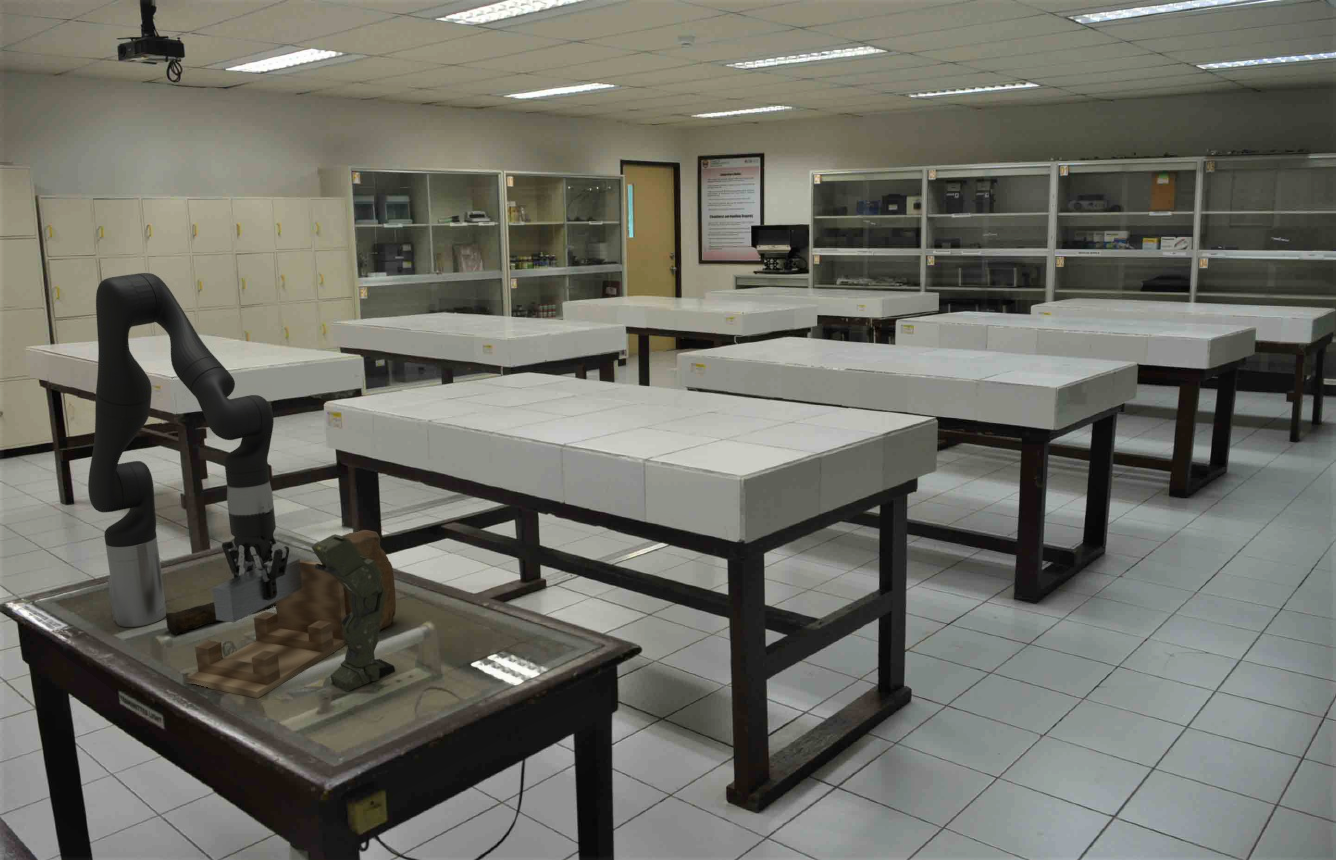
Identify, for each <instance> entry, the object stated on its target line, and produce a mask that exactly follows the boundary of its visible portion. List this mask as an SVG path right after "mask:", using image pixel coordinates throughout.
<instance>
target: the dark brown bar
mask: <svg viewBox="0 0 1336 860" xmlns="http://www.w3.org/2000/svg"><path fill="white" fill-rule="evenodd" d="M273 607H276V602H274V603H272V604H270V605H268V606H266V607H264V608H262V609H260V610H258V611H256V612H254V613H252V614H251V615H253V614H257V613H261V612H263V611H264V612H265V611H266V610H269V609H272V608H273ZM166 613H167V614H166V616H165V620H166V628H167V630H168V633H170V634H171V636H173V637H175V636H177V635H178V634H179V633H187V631H188V630H193V629H195V628H198V627H201V626H204V625H207V624H211V623H214V622H218V621H219V620H216V613H215V605H214V601H213V602H210V603H206V604H203V605H196V606H194V607H190V608H187V609H183V610H180V611H176V612H166Z"/></svg>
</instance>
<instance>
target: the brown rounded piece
mask: <svg viewBox="0 0 1336 860" xmlns="http://www.w3.org/2000/svg"><path fill="white" fill-rule="evenodd" d="M342 536H343V537H346V538H349V539H350V540H351V542H352V543H353V545H354V546H355V547H356V549H357V550H358V551H359V553H360V554H361V556H362V557H365V558H368V559H371V560H374V562H375V563H376V565H377V566H378V568H379V569H380V571H381V572H382V588H383V589H384V590H385V591H386V597H385V603H384V607H383V612H382V618H381V624H380V630H379V632H380V631H381V630H383V629H385V628H387V627H389V626H390V625H391V623H392V622H393V621H394V617H395V615H396V610H397V609H396V608H397V606H396V605H397V602H396V598H397V597H396V587H395V586H396V585H395V575H394V574H395V573H394V567H393V565H392V562H391V561H390V560H389V558H388V556H387V554H386V552H385V550H384V549H382V547H381V545H380V544H381V538H380V535H379V534H378V532H377V531H374V530H369V529H362V530H359V531H357V532H356V531H355V532H350V533H346V534H343V535H342ZM343 589H344V600H345V612H346V615H349V614H350V613H351V612H352V609H351V605H350V592H348V591H347V590H346V589H345V588H344V587H343Z"/></svg>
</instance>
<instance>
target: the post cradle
mask: <svg viewBox="0 0 1336 860" xmlns="http://www.w3.org/2000/svg"><path fill="white" fill-rule="evenodd" d="M316 564H322V563H321V561H320V562H318V561H312V560H311V561H309V560H305V559H304V560H302V559H300V568H301V578H302V589H300V590H298V591H296V592H294V593H292V594H290V595H288V596H286V597H284V598H282V599H280V600H278V601H276V605H275V608H276V609H275V611H276V612H270V611H264V612H263V611H262V613H261V612H260V614H258V615H255V616H254V617H253V625H254V632H255V640H254V641H253V642H251V643H249V644H247V645H246V646H243V647H241V648H239V649H237V650H236V651H234V652H232V653H231V654H228V655H226V656H224V655H223V650H222V649H223V648H222V642H220V641H215V640H209V639H207V640H206V641H203V642H202V643H200V644H198V645H195V648H194V649H195V656H196V663H197V664H196V665H197V671H196V672H195V673H193V674H191V675H189V676H187V677H186V680H187V681H188V682H191V683H194V684H197V685H201V686H204V687H203V688H206V687H208V689H211V690H217V691H222V692H226V693H231V694H235V695H241V696H245V697H250V698H254V699H259V698H260V697H262V696H264V695H266V694H267V693H269V692H271V691H272V690H274V689H275V688H277V687H279V686H281V685H283V684H284V683H286V682H287V681H289V680H291V679H292V678H295V676H296V675H298V674H300V673H302V672H303V671H305V670H308V669H309V668H310V667H311V666H313V665H315V664H317V663H318V662H320V661H322V660H323V659H325V658H326V657H328V656H330V655H331V654H333V653H334V652H337V651H338V650H340V649H341V648H343V647H344V646H347V644H346V642H345V639H344V636H343V624H342V622H341V621H342V620H343V619H344V618H345V616H346V612H345V600H344V589H343V586H342V584H341V583H340V582H339V581H338V580H337V579H336V578H335V577H334V576H333V575H332V574H331V573H327V572H325V571H322V570H318V569H315V565H316ZM322 565H323V564H322ZM188 682H187V683H188ZM201 686H200V687H201Z"/></svg>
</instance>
